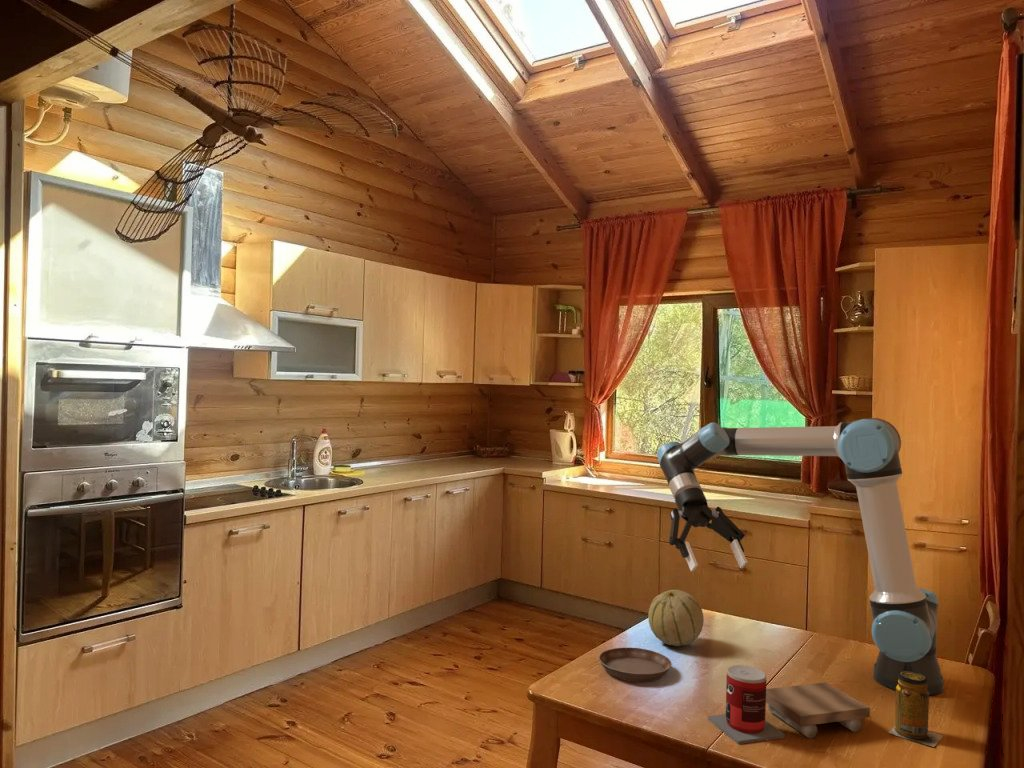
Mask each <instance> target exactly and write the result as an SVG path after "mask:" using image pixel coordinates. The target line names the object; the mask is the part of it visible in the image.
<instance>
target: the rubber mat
mask: <svg viewBox="0 0 1024 768" xmlns="http://www.w3.org/2000/svg"><path fill="white" fill-rule="evenodd" d="M707 720H708V721H710V722H711V723H712V724H713V725H715V726H716V727H717V728H718V729H720V730H721V731H722V732H723V733H724V734H725V735H726V736H728V737H729V738H730V739H731V740H733V742H735V743H736V744H737V745H741V744H747V743H755V741H757V742H762V740H764V741H768V740H767V739H771V740H778V739H785V738H786V734H785V733H784V732H782V731H781V730H780V729H778V728H777V727H775V726H774V725H773V724H771V723H770V722H769V721H768V720H766V719H765V727H764V729H763V731H761V732H759V733H744V732H740V731H737V730H735V729H733V728H731V727H730V726H729V725H728V724H727V721H726V713H724V714H716V715H715V714H713V715H708V716H707ZM776 738H778V739H776Z"/></svg>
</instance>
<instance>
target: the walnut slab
mask: <svg viewBox="0 0 1024 768" xmlns="http://www.w3.org/2000/svg"><path fill="white" fill-rule="evenodd" d="M766 704H767V709H768V710H769V712H770V713H772V714H774V715H775V716H776V717H778V718H779V719H780V720H782V721H784V723H787V724H788V725H789V726H791V727H792V728H793V729H795V730H797V732H799V733H801V734H802V735H803V736H804V737H806V738H807V739H813V738H815V737H816V735H817V733H818V726H817V725H819V724H829V723H835V722H837V723H839V724H840V725H841V726H844V728H846V729H848V730H849V731H850V732H853V733H857V732H859V731H860V730H861V728H862V725H863V723H862V720H861V719H865V718H866V719H867V718H870V714H871V707H870V706H868V705H867V704H865V703H863V702H861V701H860V700H857V699H856V698H854V697H853V696H851V695H849V694H847V693H846V692H844V691H842V690H841V689H839V688H837V687H835V686H833V685H832V684H830V683H829V682H817V683H808V684H800V685H799V684H798V685H793V686H792V685H791V686H783V687H780V686H779V687H773V688H772V687H771V688H766Z"/></svg>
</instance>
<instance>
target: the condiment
mask: <svg viewBox="0 0 1024 768" xmlns="http://www.w3.org/2000/svg"><path fill="white" fill-rule="evenodd" d="M898 683H899V684H898V685H897V686H896V690H895V709H894V710H895V711H894V713H895V714H894V715H895V716H894V726H893V727H892V728H891V729H890V730H889V731H888V732H887V733H888V734H891V735H892V736H893V735H894V736H895V737H898V738H902V739H904V740H905V739H906V740H908V741H914V742H916V743H919V744H921V745H922V744H923V745H926V746H929V747H933V748H935V746H937V745H938V744H939V742H940V741H941V739H942V738H943V737H944V734H940V733H936V732H934V731H930V730H929V704H930V695H929V692H928V691H927V688H928V687H927V678H926V677H924V676H923V675H921V674H918V673H914V672H901V673H899V680H898ZM939 740H940V741H939Z"/></svg>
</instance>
